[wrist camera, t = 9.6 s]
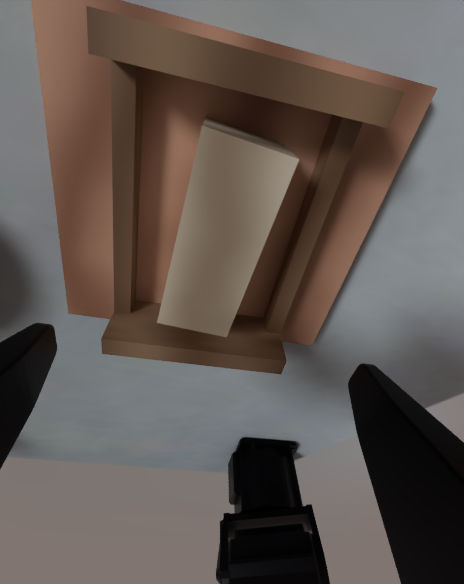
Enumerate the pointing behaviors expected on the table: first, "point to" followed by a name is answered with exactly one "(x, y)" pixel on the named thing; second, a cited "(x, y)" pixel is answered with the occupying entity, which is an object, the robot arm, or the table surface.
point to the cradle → (179, 162)
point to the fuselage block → (223, 225)
